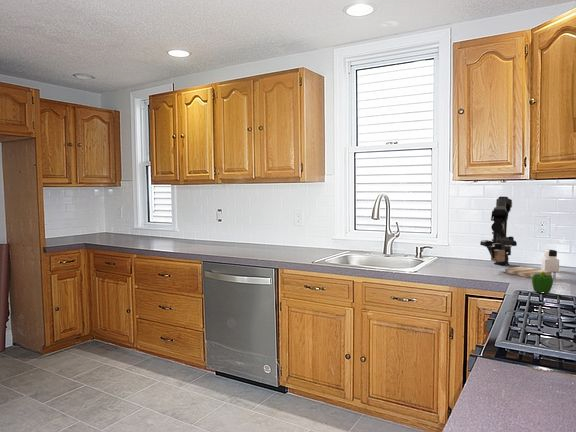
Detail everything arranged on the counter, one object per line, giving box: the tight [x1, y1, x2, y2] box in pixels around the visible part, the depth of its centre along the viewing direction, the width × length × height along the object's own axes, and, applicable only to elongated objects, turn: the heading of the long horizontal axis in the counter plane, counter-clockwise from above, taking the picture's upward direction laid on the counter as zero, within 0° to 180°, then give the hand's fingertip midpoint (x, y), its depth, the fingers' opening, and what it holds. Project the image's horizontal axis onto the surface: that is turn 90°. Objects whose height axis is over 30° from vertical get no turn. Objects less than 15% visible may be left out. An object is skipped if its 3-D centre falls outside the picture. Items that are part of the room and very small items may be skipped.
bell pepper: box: [531, 272, 554, 294], centre depth 197 cm, size 8×8×10 cm
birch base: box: [504, 266, 553, 279], centre depth 238 cm, size 16×16×2 cm
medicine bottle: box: [540, 249, 560, 273], centre depth 246 cm, size 7×7×12 cm
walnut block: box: [490, 250, 505, 262], centre depth 245 cm, size 5×5×6 cm
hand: (497, 258), depth 245 cm, fingers closed on walnut block, 6 cm apart
